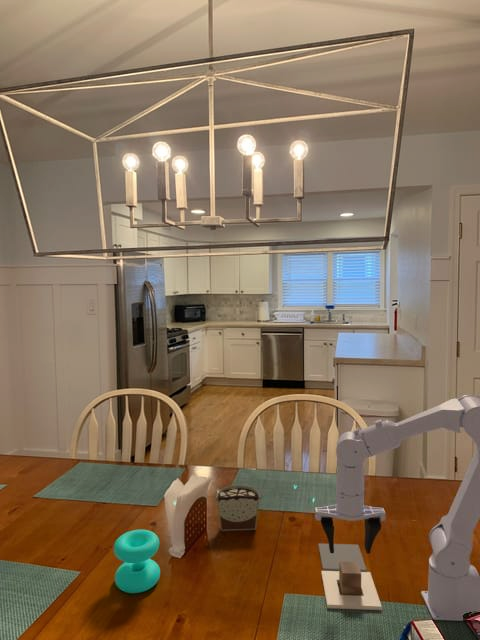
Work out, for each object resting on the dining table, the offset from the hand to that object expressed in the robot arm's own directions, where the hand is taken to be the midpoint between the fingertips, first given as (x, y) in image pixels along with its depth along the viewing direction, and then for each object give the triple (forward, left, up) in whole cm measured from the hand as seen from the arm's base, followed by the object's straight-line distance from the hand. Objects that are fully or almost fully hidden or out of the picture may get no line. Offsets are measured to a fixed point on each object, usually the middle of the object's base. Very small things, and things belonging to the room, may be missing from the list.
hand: (349, 550), depth 100 cm
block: (0, 0, -9) cm, 9 cm away
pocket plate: (0, 0, -9) cm, 9 cm away
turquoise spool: (+47, -1, -10) cm, 48 cm away
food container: (+26, -26, -10) cm, 38 cm away
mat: (0, -12, -9) cm, 15 cm away
